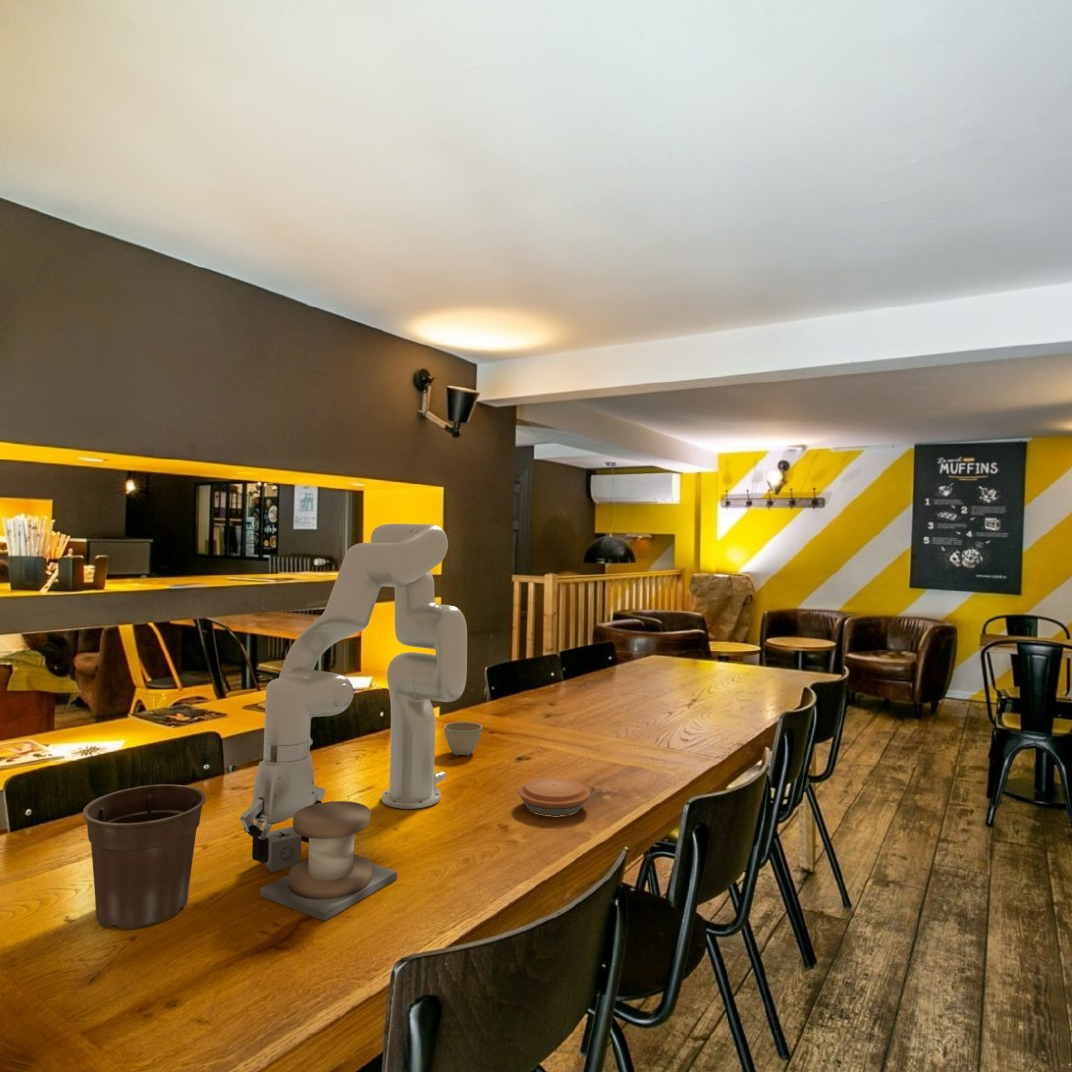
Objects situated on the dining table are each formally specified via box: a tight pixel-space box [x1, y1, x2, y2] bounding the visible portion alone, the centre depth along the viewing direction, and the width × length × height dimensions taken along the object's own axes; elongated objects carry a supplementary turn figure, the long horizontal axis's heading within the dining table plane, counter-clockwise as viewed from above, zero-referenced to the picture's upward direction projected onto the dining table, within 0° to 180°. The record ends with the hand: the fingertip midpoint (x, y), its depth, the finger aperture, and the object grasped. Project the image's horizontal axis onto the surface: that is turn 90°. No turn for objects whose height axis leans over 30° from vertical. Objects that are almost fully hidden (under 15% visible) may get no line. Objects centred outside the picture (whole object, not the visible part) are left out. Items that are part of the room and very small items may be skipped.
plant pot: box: [82, 784, 207, 931], centre depth 109 cm, size 16×16×16 cm
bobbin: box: [259, 800, 398, 922], centre depth 117 cm, size 16×14×12 cm
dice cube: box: [263, 826, 302, 873], centre depth 126 cm, size 5×5×5 cm
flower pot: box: [443, 721, 483, 756], centre depth 193 cm, size 10×10×7 cm
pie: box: [517, 776, 591, 816], centre depth 155 cm, size 15×16×5 cm
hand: (283, 850), depth 125 cm, fingers open, 9 cm apart
